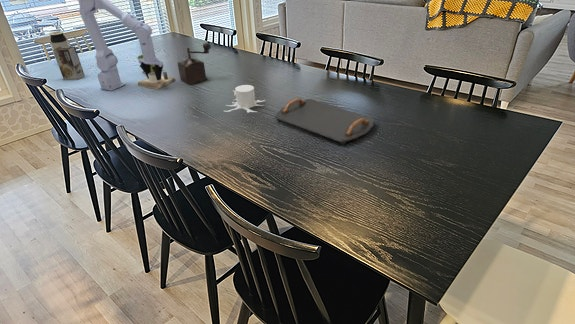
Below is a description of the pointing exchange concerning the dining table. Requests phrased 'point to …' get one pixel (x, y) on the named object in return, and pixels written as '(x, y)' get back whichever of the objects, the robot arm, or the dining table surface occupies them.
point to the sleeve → (153, 79)
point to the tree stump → (245, 98)
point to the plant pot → (141, 63)
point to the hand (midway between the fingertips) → (154, 78)
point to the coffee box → (68, 62)
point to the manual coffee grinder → (193, 68)
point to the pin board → (164, 81)
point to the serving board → (325, 119)
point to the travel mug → (58, 39)
